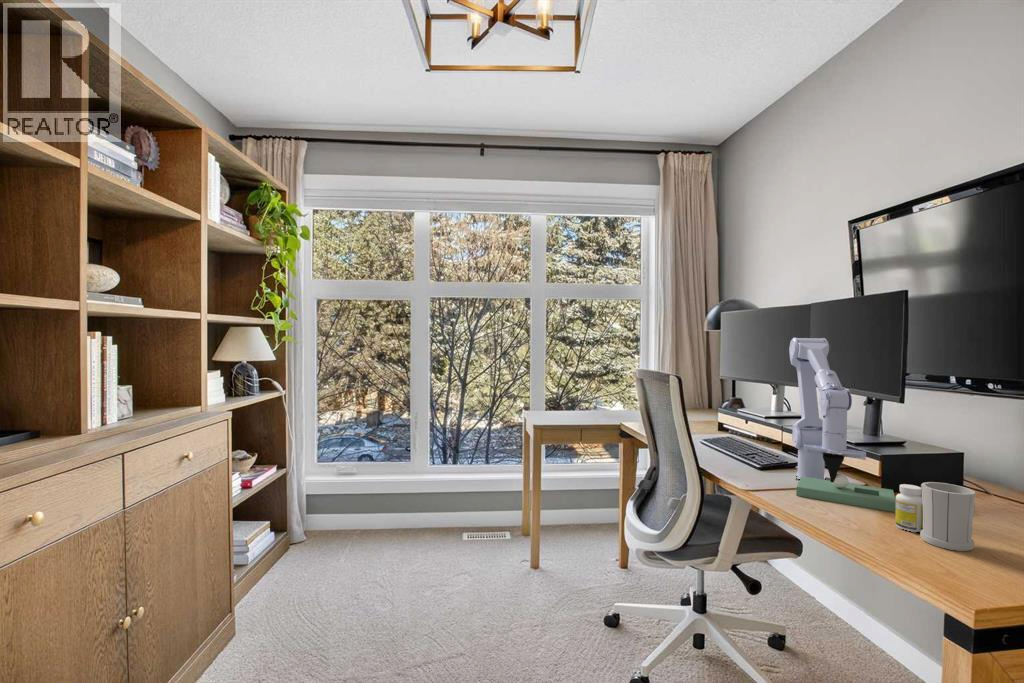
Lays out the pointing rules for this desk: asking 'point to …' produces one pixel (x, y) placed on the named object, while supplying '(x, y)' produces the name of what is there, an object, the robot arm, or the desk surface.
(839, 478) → the ball
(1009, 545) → the desk surface
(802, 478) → the putting board
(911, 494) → the supplement bottle
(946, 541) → the cup
